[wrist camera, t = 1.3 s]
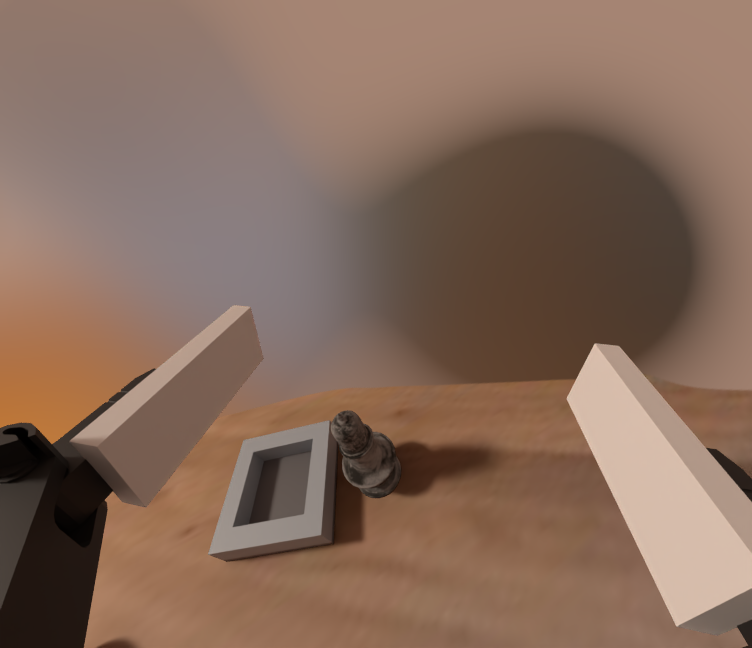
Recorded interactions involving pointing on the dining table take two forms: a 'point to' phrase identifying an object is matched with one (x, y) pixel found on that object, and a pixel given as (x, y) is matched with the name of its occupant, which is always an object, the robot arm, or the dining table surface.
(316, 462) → the socket block
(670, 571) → the robot arm
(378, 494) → the salt shaker
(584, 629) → the dining table surface
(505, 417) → the dining table surface
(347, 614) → the dining table surface
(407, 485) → the dining table surface
